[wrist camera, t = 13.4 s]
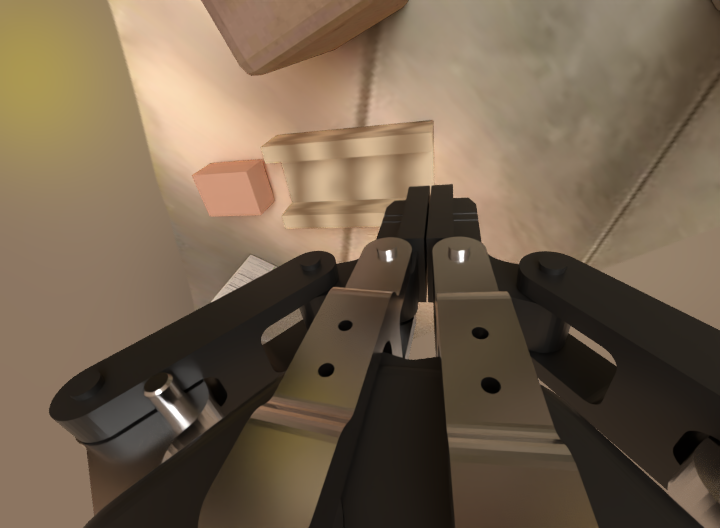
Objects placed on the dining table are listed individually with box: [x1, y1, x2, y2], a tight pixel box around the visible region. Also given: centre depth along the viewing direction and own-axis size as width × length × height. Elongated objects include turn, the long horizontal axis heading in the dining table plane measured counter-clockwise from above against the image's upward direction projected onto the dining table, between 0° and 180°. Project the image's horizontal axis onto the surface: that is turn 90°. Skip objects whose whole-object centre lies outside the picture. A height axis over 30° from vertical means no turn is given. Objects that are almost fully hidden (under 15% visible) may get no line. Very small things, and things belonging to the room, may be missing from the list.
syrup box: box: [210, 255, 277, 303], centre depth 54 cm, size 6×6×14 cm
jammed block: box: [192, 159, 274, 216], centre depth 46 cm, size 8×6×4 cm
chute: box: [260, 120, 434, 229], centre depth 43 cm, size 20×11×5 cm, turn 98°
